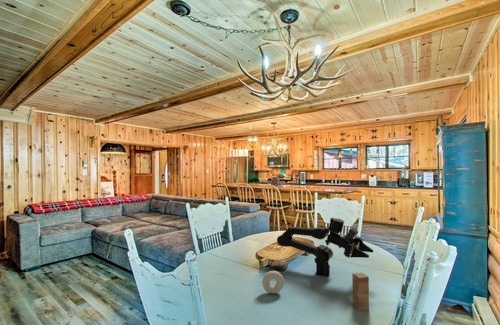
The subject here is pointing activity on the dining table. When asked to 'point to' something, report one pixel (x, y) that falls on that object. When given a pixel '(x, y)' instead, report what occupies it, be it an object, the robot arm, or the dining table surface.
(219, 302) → the dining table surface
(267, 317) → the dining table surface
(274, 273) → the donut
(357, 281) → the walnut block
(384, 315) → the dining table surface
